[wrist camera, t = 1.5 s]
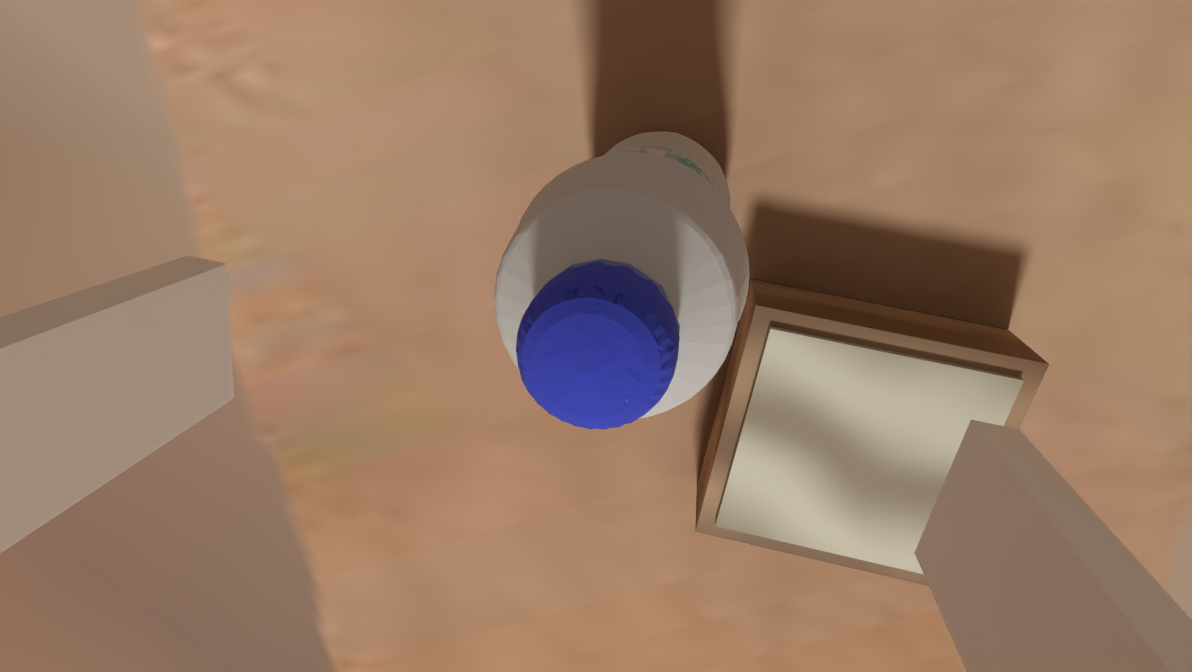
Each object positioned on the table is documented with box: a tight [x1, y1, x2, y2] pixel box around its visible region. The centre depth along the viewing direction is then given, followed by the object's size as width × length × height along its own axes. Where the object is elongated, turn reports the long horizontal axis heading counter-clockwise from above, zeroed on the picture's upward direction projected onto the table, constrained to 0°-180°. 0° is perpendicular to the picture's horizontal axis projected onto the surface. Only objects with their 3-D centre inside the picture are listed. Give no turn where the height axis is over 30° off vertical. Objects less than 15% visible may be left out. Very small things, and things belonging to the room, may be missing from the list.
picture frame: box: [695, 279, 1049, 586], centre depth 32 cm, size 12×12×4 cm
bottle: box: [494, 131, 749, 429], centre depth 22 cm, size 7×7×20 cm
